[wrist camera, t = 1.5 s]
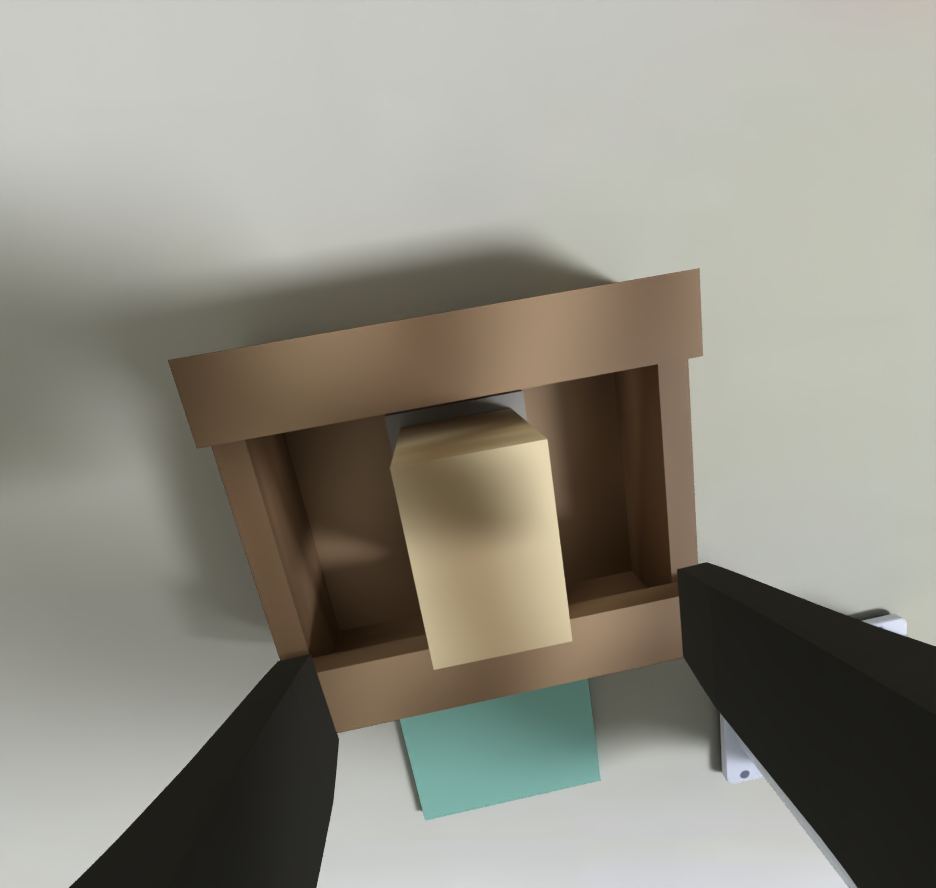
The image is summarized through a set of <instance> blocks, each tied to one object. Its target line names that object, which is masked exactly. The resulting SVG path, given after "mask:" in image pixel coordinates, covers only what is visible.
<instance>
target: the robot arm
mask: <svg viewBox="0 0 936 888" xmlns="http://www.w3.org/2000/svg"><path fill="white" fill-rule="evenodd" d="M677 578H678V592H679V606H680V620H681V634H682V648H683V657H684V658H685V660H686V661H687V663H688V665H689V666H690V668H691V670H692V671H693V673H694V674H695V676H696V678H697V679H698V681H699V683H700V684H701V686H702V687H703V689H704V690H705V692H706V693H707V695H708V696H709V698H710V699H711V701H712V702H713V704H714V706H715V707H716V708H717V710H718V711H719V712H720V729H721V756H722V774H723V776H724V777H725V779H726V780H727V781H728V782H729V783H732V784H734V783H739V782H744V781H748V780H752V779H757V778H761V777H764V778H765V779H766V780H767V782H768V783H769V784H770V786H771V787H772V788H773V790H774V791H775V792H776V793H777V795H778V796H779V797H780V799H781V800H782V801H783V803H784V804H785V805H786V806H787V808H788V809H789V810H790V812H791V813H792V814H793V816H794V817H795V818H796V820H797V821H798V822H799V823H800V825H801V826H802V827H803V829H804V830H805V831H806V833H807V834H808V835H809V836H810V838H811V839H812V840H813V842H814V843H815V844H816V846H817V847H818V848H819V849H820V851H821V852H822V853H823V855H824V856H825V857H826V859H827V860H828V861H829V863H830V864H831V865H832V866H833V868H834V869H835V870H836V872H837V873H838V874H839V876H840V877H841V878H842V879H843V881H844V882H845V883H846V885H847V886H848V887H849V888H936V646H933V645H930V644H926V643H924V642H921V641H918V640H915V639H912V638H909V637H908V636H906V629H907V623H906V620H905V619H904V618H902V617H900V616H899V615H896V614H890V615H886V616H881V617H877V618H872V619H867V620H863V621H860V620H858V619H855V618H852V617H849V616H847V615H844V614H841V613H839V612H836V611H833V610H831V609H828V608H825V607H823V606H820V605H818V604H815V603H812V602H810V601H807V600H805V599H802V598H799V597H797V596H794V595H792V594H789V593H787V592H784V591H782V590H779V589H777V588H774V587H772V586H769V585H766V584H764V583H761V582H759V581H756V580H754V579H751V578H749V577H746V576H743V575H741V574H738V573H736V572H733V571H730V570H728V569H725V568H722V567H719V566H716V565H713V564H710V563H707V562H706V563H702V564H697V565H693V566H689V567H684V568H680V569H677ZM338 744H339V738H338V735H337V732H336V729H335V726H334V723H333V720H332V717H331V714H330V711H329V708H328V705H327V702H326V699H325V696H324V693H323V690H322V687H321V684H320V681H319V678H318V675H317V672H316V669H315V666H314V663H313V660H312V657H311V654H308V655H303V656H299V657H295V658H290V659H286V660H282V661H278V662H277V663H276V664H275V665H274V666H273V667H272V668H271V669H270V670H269V672H268V673H267V674H266V675H265V676H264V677H263V678H262V679H261V680H260V682H259V683H258V684H257V685H256V686H255V687H254V688H253V690H252V691H251V692H250V693H249V694H248V695H247V697H246V698H245V699H244V700H243V701H242V702H241V704H240V705H239V706H238V707H237V708H236V709H235V711H234V712H233V713H232V714H231V715H230V716H229V717H228V719H227V720H226V721H225V722H224V723H223V724H222V725H221V727H220V728H219V729H218V730H217V731H216V732H215V733H214V735H213V736H212V737H211V738H210V739H209V740H208V741H207V743H206V744H205V745H204V746H203V747H202V748H201V749H200V751H199V752H198V753H197V754H196V755H195V756H194V757H193V759H192V760H191V761H190V762H189V763H188V764H187V765H186V766H185V768H184V769H183V770H182V771H181V772H180V773H179V774H178V775H177V776H176V777H175V778H174V779H173V780H172V782H171V783H170V784H169V785H168V786H167V787H166V788H165V789H164V790H163V791H162V792H161V793H160V794H159V795H158V797H157V798H156V799H155V800H154V801H153V802H152V803H151V804H150V805H149V806H148V807H147V808H146V809H145V810H144V812H143V813H142V814H141V815H140V816H139V817H138V818H137V819H136V820H135V821H134V822H133V823H132V824H131V825H130V827H129V828H128V829H127V830H126V831H125V832H124V833H123V834H122V835H121V836H120V837H119V838H118V839H117V840H116V841H115V842H114V843H113V844H112V845H111V846H110V847H109V848H108V849H107V850H106V852H105V853H104V854H103V855H102V856H101V857H100V858H99V859H98V860H97V861H96V862H95V863H94V864H93V865H92V866H91V867H90V868H89V869H88V870H87V871H86V872H85V873H84V874H83V875H82V876H81V877H80V878H79V879H78V880H77V881H75V882H74V883H73V884H72V885H71V886H70V887H69V888H316V887H317V882H318V877H319V872H320V867H321V862H322V857H323V852H324V847H325V842H326V837H327V832H328V827H329V822H330V816H331V811H332V806H333V799H334V789H335V779H336V769H337V756H338Z"/></svg>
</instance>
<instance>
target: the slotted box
mask: <svg viewBox="0 0 936 888" xmlns="http://www.w3.org/2000/svg"><path fill="white" fill-rule="evenodd" d="M699 356H703V345H702V320H701V295H700V270H699V268H698V269H693V270H687V271H681V272H675V273H670V274H664V275H658V276H652V277H646V278H641V279H635V280H629V281H623V282H618V283H612V284H606V285H600V286H594V287H589V288H583V289H577V290H571V291H565V292H560V293H554V294H548V295H542V296H537V297H531V298H525V299H519V300H513V301H508V302H502V303H496V304H490V305H485V306H479V307H473V308H467V309H461V310H456V311H450V312H444V313H438V314H432V315H427V316H421V317H415V318H409V319H404V320H398V321H392V322H386V323H380V324H375V325H369V326H363V327H357V328H352V329H346V330H340V331H334V332H328V333H323V334H317V335H311V336H305V337H299V338H294V339H288V340H282V341H276V342H271V343H265V344H259V345H253V346H247V347H242V348H236V349H230V350H224V351H219V352H213V353H207V354H201V355H195V356H190V357H184V358H178V359H172V360H168V362H169V365H170V368H171V371H172V374H173V377H174V380H175V383H176V386H177V389H178V392H179V395H180V398H181V401H182V404H183V407H184V410H185V413H186V416H187V419H188V422H189V425H190V429H191V432H192V435H193V438H194V441H195V444H196V447H197V448H203V447H208V446H212V450H213V453H214V456H215V459H216V462H217V465H218V468H219V471H220V475H221V478H222V481H223V484H224V487H225V490H226V493H227V496H228V499H229V503H230V506H231V509H232V512H233V515H234V518H235V521H236V524H237V527H238V531H239V534H240V537H241V540H242V543H243V546H244V549H245V552H246V555H247V559H248V562H249V565H250V568H251V571H252V574H253V577H254V580H255V583H256V587H257V590H258V593H259V596H260V599H261V602H262V605H263V608H264V611H265V615H266V618H267V621H268V624H269V627H270V630H271V633H272V636H273V639H274V643H275V646H276V649H277V652H278V655H279V658H280V661H282V660H286V659H290V658H295V657H299V656H303V655H308V654H311V657H312V660H313V663H314V666H315V669H316V672H317V675H318V678H319V681H320V684H321V687H322V690H323V693H324V696H325V699H326V702H327V705H328V708H329V711H330V714H331V717H332V720H333V723H334V726H335V729H336V732H337V733H340V732H345V731H349V730H354V729H358V728H363V727H368V726H372V725H377V724H381V723H386V722H391V721H395V720H400V719H404V718H409V717H414V716H418V715H423V714H427V713H432V712H436V711H441V710H446V709H450V708H455V707H459V706H464V705H469V704H473V703H478V702H482V701H487V700H492V699H496V698H501V697H505V696H510V695H514V694H519V693H524V692H528V691H533V690H537V689H542V688H547V687H551V686H556V685H560V684H565V683H570V682H574V681H579V680H583V679H588V678H592V677H597V676H602V675H606V674H611V673H615V672H620V671H625V670H629V669H634V668H638V667H643V666H648V665H652V664H657V663H661V662H666V661H670V660H675V659H680V658H684V657H683V648H682V634H681V620H680V606H679V592H678V578H677V569H680V568H684V567H689V566H693V565H697V564H698V556H697V535H696V514H695V493H694V472H693V452H692V431H691V410H690V389H689V368H688V358H694V357H699ZM508 408H512V409H513V410H514V411H515V412H516V413H517V414H519V415H520V416H521V417H522V418H523V419H524V420H526V421H527V422H528V423H529V424H530V425H532V426H533V427H534V428H535V429H536V430H537V431H539V432H540V433H541V434H542V435H543V436H544V437H546V438H547V440H548V448H549V456H550V464H551V472H552V480H553V488H554V496H555V504H556V512H557V520H558V528H559V537H560V545H561V553H562V561H563V569H564V577H565V585H566V593H567V601H568V609H569V617H570V625H571V633H572V641H571V642H566V643H561V644H557V645H552V646H547V647H542V648H537V649H532V650H528V651H523V652H518V653H513V654H508V655H504V656H499V657H494V658H489V659H484V660H479V661H475V662H470V663H465V664H460V665H455V666H450V667H446V668H441V669H436V670H434V669H433V664H432V659H431V655H430V650H429V646H428V641H427V636H426V632H425V627H424V623H423V618H422V613H421V609H420V604H419V600H418V595H417V590H416V586H415V581H414V577H413V572H412V567H411V563H410V558H409V554H408V549H407V544H406V540H405V535H404V531H403V526H402V521H401V517H400V512H399V508H398V503H397V498H396V494H395V489H394V485H393V480H392V475H391V471H390V466H391V462H392V458H393V455H394V451H395V447H396V443H397V440H398V436H399V432H400V428H402V427H408V426H413V425H419V424H424V423H430V422H435V421H441V420H447V419H452V418H458V417H463V416H469V415H474V414H480V413H486V412H491V411H497V410H502V409H508Z"/></svg>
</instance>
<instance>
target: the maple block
mask: <svg viewBox="0 0 936 888" xmlns="http://www.w3.org/2000/svg"><path fill="white" fill-rule="evenodd" d="M390 471H391V475H392V480H393V485H394V489H395V494H396V498H397V503H398V508H399V512H400V517H401V521H402V526H403V531H404V535H405V540H406V544H407V549H408V554H409V558H410V563H411V567H412V572H413V577H414V581H415V586H416V590H417V595H418V600H419V604H420V609H421V613H422V618H423V623H424V627H425V632H426V636H427V641H428V646H429V650H430V655H431V659H432V664H433V669H434V670H436V669H441V668H446V667H450V666H455V665H460V664H465V663H470V662H475V661H479V660H484V659H489V658H494V657H499V656H504V655H508V654H513V653H518V652H523V651H528V650H532V649H537V648H542V647H547V646H552V645H557V644H561V643H566V642H571V641H572V633H571V625H570V617H569V609H568V601H567V593H566V585H565V577H564V569H563V561H562V553H561V545H560V537H559V528H558V520H557V512H556V504H555V496H554V488H553V480H552V472H551V464H550V456H549V448H548V440H547V438H546V437H544V436H543V435H542V434H541V433H540V432H539V431H537V430H536V429H535V428H534V427H533V426H532V425H530V424H529V423H528V422H527V421H526V420H524V419H523V418H522V417H521V416H520V415H519V414H517V413H516V412H515V411H514V410H513V409H512V408H508V409H502V410H497V411H491V412H486V413H480V414H474V415H469V416H463V417H458V418H452V419H447V420H441V421H435V422H430V423H424V424H419V425H413V426H408V427H402V428H400V432H399V436H398V440H397V443H396V447H395V451H394V455H393V458H392V462H391V466H390Z"/></svg>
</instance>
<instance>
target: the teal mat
mask: <svg viewBox="0 0 936 888" xmlns="http://www.w3.org/2000/svg"><path fill="white" fill-rule="evenodd" d="M400 723H401V727H402V731H403V735H404V739H405V743H406V747H407V751H408V755H409V759H410V763H411V767H412V771H413V775H414V779H415V782H416V786H417V790H418V794H419V798H420V802H421V806H422V810H423V814H424V818H425V820H430V819H434V818H438V817H443V816H447V815H451V814H456V813H460V812H465V811H469V810H473V809H478V808H482V807H487V806H491V805H495V804H500V803H504V802H508V801H513V800H517V799H522V798H526V797H530V796H535V795H539V794H543V793H548V792H552V791H557V790H561V789H565V788H570V787H574V786H578V785H583V784H587V783H592V782H596V781H600V772H599V764H598V755H597V747H596V739H595V731H594V723H593V715H592V707H591V699H590V691H589V683H588V679H583V680H579V681H574V682H570V683H565V684H560V685H556V686H551V687H547V688H542V689H537V690H533V691H528V692H524V693H519V694H514V695H510V696H505V697H501V698H496V699H492V700H487V701H482V702H478V703H473V704H469V705H464V706H459V707H455V708H450V709H446V710H441V711H436V712H432V713H427V714H423V715H418V716H414V717H409V718H404V719H400Z"/></svg>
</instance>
